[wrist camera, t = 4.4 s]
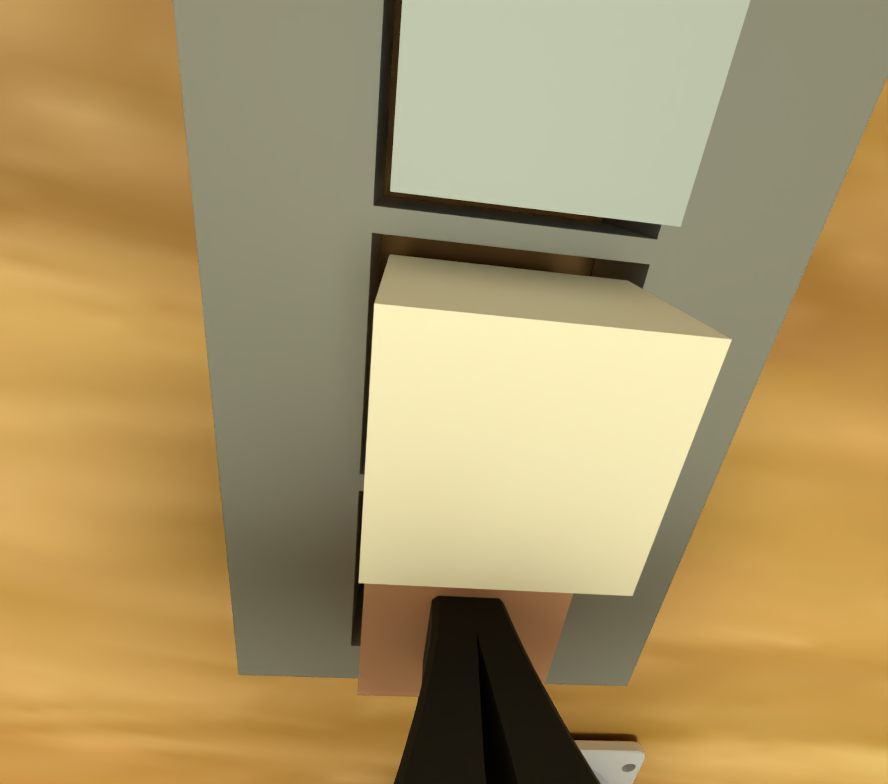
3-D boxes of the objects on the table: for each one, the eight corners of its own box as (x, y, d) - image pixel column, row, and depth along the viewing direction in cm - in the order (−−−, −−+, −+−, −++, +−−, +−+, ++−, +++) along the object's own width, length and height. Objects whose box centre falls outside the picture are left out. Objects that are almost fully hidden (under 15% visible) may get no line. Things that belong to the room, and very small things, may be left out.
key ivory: (573, 476, 10) (632, 596, 7) (375, 462, 9) (358, 583, 7) (628, 280, 8) (732, 339, 5) (389, 253, 8) (374, 303, 5)
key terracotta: (515, 591, 13) (539, 699, 11) (370, 584, 13) (357, 695, 10) (544, 471, 12) (582, 564, 9) (378, 459, 11) (366, 553, 9)
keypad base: (595, 608, 15) (626, 686, 13) (267, 593, 14) (238, 675, 12) (852, -129, 8) (1025, -245, 6) (221, -256, 7) (128, -454, 5)
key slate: (604, 208, 9) (679, 226, 7) (398, 182, 9) (390, 191, 6) (669, -59, 8) (805, -178, 5) (418, -104, 7) (418, -258, 5)
